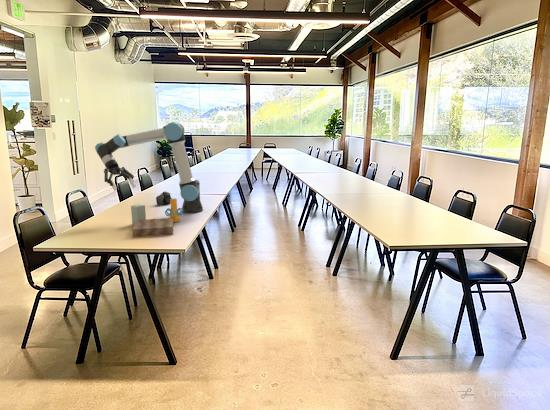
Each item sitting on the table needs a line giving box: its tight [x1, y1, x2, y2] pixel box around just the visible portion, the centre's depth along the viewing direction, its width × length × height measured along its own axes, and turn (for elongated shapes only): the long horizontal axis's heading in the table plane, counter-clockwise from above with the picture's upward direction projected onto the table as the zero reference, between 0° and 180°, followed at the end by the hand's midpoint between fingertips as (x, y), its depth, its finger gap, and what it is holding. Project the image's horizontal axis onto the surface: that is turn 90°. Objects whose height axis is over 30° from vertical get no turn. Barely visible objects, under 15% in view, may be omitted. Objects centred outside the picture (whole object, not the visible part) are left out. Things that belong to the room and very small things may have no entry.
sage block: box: [130, 203, 147, 225], centre depth 244 cm, size 6×6×12 cm
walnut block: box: [132, 217, 174, 238], centre depth 230 cm, size 22×22×5 cm
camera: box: [155, 191, 173, 207], centre depth 306 cm, size 13×10×10 cm
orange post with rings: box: [164, 198, 184, 223], centre depth 250 cm, size 12×10×15 cm
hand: (125, 188), depth 247 cm, fingers open, 13 cm apart
